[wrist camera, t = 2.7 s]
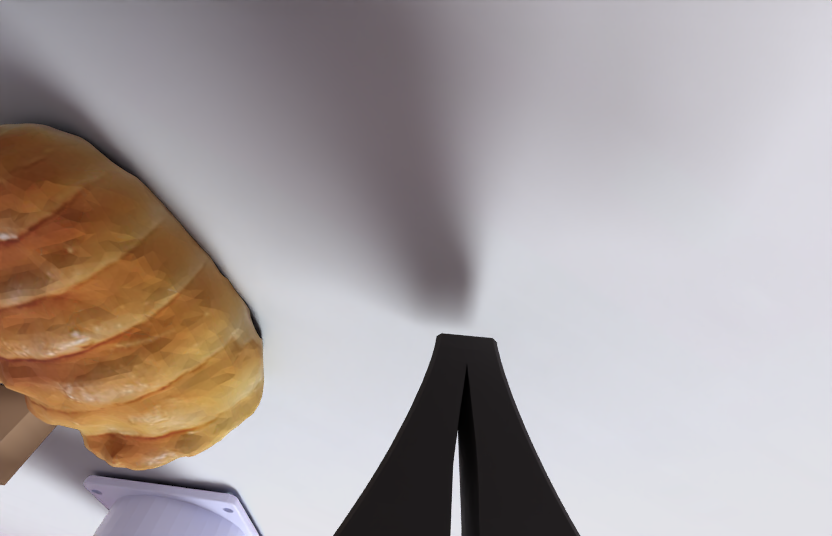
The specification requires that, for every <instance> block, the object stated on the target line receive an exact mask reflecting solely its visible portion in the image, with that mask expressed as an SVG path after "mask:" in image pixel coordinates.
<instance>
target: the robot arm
mask: <svg viewBox="0 0 832 536" xmlns="http://www.w3.org/2000/svg"><path fill="white" fill-rule="evenodd" d="M457 431H458V445H459V472H460V498H461V524H462V536H580V535H579V533H578V531H577V529H576V528H575V526H574V524H573V522H572V521H571V519H570V517H569V515H568V513H567V512H566V510H565V508H564V506H563V504H562V502H561V501H560V499H559V497H558V495H557V493H556V491H555V489H554V487H553V485H552V484H551V482H550V480H549V478H548V476H547V474H546V472H545V470H544V467H543V465H542V463H541V461H540V459H539V457H538V455H537V453H536V451H535V448H534V446H533V444H532V442H531V440H530V437H529V435H528V433H527V431H526V428H525V426H524V423H523V421H522V418H521V416H520V414H519V411H518V409H517V406H516V404H515V401H514V399H513V396H512V393H511V391H510V388H509V385H508V382H507V379H506V376H505V373H504V370H503V366H502V363H501V359H500V356H499V352H498V347H497V342H496V341H495V340H494V339H493V338H485V337H474V336H464V335H454V334H443V333H441V334H440V335H438V336H437V338H436V343H435V347H434V351H433V354H432V358H431V361H430V364H429V366H428V369H427V372H426V374H425V377H424V379H423V382H422V384H421V386H420V388H419V391H418V393H417V395H416V397H415V399H414V402H413V404H412V406H411V408H410V410H409V412H408V414H407V416H406V418H405V420H404V422H403V424H402V426H401V428H400V430H399V431H398V433H397V435H396V437H395V439H394V441H393V443H392V445H391V446H390V448H389V450H388V452H387V453H386V455H385V457H384V459H383V460H382V462H381V464H380V465H379V467H378V469H377V470H376V472H375V473H374V475H373V477H372V478H371V480H370V482H369V483H368V485H367V486H366V488H365V489H364V491H363V493H362V494H361V496H360V497H359V499H358V500H357V502H356V503H355V505H354V506H353V508H352V509H351V510H350V512H349V513H348V515H347V516H346V518H345V519H344V521H343V522H342V524H341V525H340V527H339V528H338V529H337V531H336V532H335V534H334V535H333V536H450V530H451V504H452V478H453V461H454V452H455V445H456V438H457ZM83 485H84V487H85V488H86V489H87V490H88V491H89V492H91V493H92V494H93V495H94V496H95V497H96V498H97V499H98V500H99V501H100V502H101V503H102V504H103V505H104V506H105V507H106V508H107V509H109V512H108V513H107V515H106V516H105V518H104V520H103V521H102V523H101V524H100V526H99V527H98V529H97V530H96V532H95V533H94V535H93V536H259V534H258V532H257V531H256V529H255V527H254V526H253V524H252V522H251V520H250V519H249V517H248V515H247V513H246V512H245V510H244V508H243V507H242V505H241V503H240V501H239V500H238V498H237V497H235V496H234V495H231V494H227V493H220V492H213V491H205V490H198V489H191V488H183V487H176V486H168V485H161V484H154V483H146V482H139V481H132V480H124V479H117V478H110V477H102V476H95V475H90V476H88V477H87V478H86V479H85V481H84V482H83Z"/></svg>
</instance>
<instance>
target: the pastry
mask: <svg viewBox="0 0 832 536" xmlns="http://www.w3.org/2000/svg"><path fill="white" fill-rule="evenodd" d="M0 383H3V384H4V386H5V387H6V388H8V389H10V390H13V391H16V392H19V393H21V394H24V396H25V402H26V405H27V409H28V410H29V411H30V412H31V413H32V414H33V415H34V416H35V417H37V418H38V419H40V420H42V421H43V422H45V423H47V424H50V425H61V426H65V427H69V428H74V429H78V430H79V431H80V433H81V435H82V437H83V440H84V445H85V447H86V448H87V449H88V450H89V451H91V452H93V453H94V454H95V455H96V456H97V457H98V458H100V459H102V460H105V461H106V462H107V463H108V464H109V465H111V466H112V467H122V468H128V469H132V470H145V469H152V468H157V467H160V466H162V465H165V464H167V463H169V462H171V461H173V460H175V459H177V458H180V457H185V456H187V457H191V456H194V455H197V454H199V453H201V452H203V451H204V450H206V449H208V448H210V447H211V446H213V445H214V444H215V443H217V442H219V441H221V440H222V439H223V438H224V437H225V436H226V435H227V434H228V433H229V432H230V431H231V430H233V429H234V428H236V427H237V426H239V425H240V424H241V423H242V422H243V421H244V420H245V419H246V418H248V417H249V416H251V415H252V414H253V413H254V411H255V410H256V408H257V407H258V405H259V403H260V400H261V397H262V393H263V385H264V371H263V342H262V339H260V337H259V336H258V334H257V332H256V330H255V328H254V326H253V323H252V320H251V317H250V310H249V308H248V307H247V305H246V304H245V302H244V301H243V300H242V299H241V297H240V296H239V295H238V293H237V292H236V291H235V289H234V288H233V286H232V285H231V283H230V282H229V280H228V279H227V278H225V277H224V276H223V275H222V274H221V273H220V272H219V270H218V269H217V267H216V265H215V264H214V262H213V261H212V259H211V258H210V256H209V255H208V254H207V253H206V252H205V251H204V250H203V249H202V248H201V247H200V246H199V245H198V244H197V243H196V242H195V240H194V239H193V238H192V237H191V236H190V235H189V233H188V232H187V231H186V230H185V229H184V228H183V226H182V225H181V224H180V223H179V221H178V220H177V219H176V218H175V217H174V216H173V215H172V213H171V212H170V211H169V210H168V209H167V208H166V207H165V206H164V205H163V203H162V202H161V201H160V200H159V199H158V198H157V197H156V196H155V195H154V194H153V193H152V192H151V191H150V189H149V188H147V187H146V186H145V185H144V184H143V183H142V182H141V181H140V180H139V179H138V178H137V177H136V176H134V175H132V174H130V173H128V172H126V171H125V170H123V169H122V168H120V167H119V166H117V165H116V164H114V163H113V162H112V161H110V160H109V159H108V158H107V157H105V156H104V155H103V154H102V153H101V152H99V151H98V150H97V149H96V148H95V147H94V146H93V145H91V144H90V143H89V142H87V141H86V140H84V139H83V138H81V137H79V136H76V135H73V134H69V133H66V132H63V131H60V130H58V129H55V128H52V127H50V126H47V125H42V124H34V123H22V124H3V125H0Z"/></svg>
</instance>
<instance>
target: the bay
mask: <svg viewBox="0 0 832 536" xmlns="http://www.w3.org/2000/svg"><path fill="white" fill-rule="evenodd" d="M56 426H57V425H50V424H47V423H45V422H43V421H42V420H40V419H38V418H37V417H35V416H34V415H33V414H32V413H31V412H30V411H29V410H28V409H27V405H26V402H25V396H24V394H21V393H19V392H16V391H13V390H10V389H8V388H6V387H5V386H4V385H0V485H5V484H6V483H7V482H8V481H9V480H10V478H11V477H12V476H13V475H14V474H15V473H16V472H17V470H18V469H19V468H20V467H21V466H22V465H23V464H24V462H25V461H26V460H27V459H28V458H29V457H30V456H31V454H32V453H33V452H34V451H35V450H36V449H37V448H38V446H39V445H40V444H41V443H42V442H43V441H44V440H45V438H46V437H47V436H48V435H49V434H50V433H51V432H52V430H53V429H54V428H55V427H56Z"/></svg>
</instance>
